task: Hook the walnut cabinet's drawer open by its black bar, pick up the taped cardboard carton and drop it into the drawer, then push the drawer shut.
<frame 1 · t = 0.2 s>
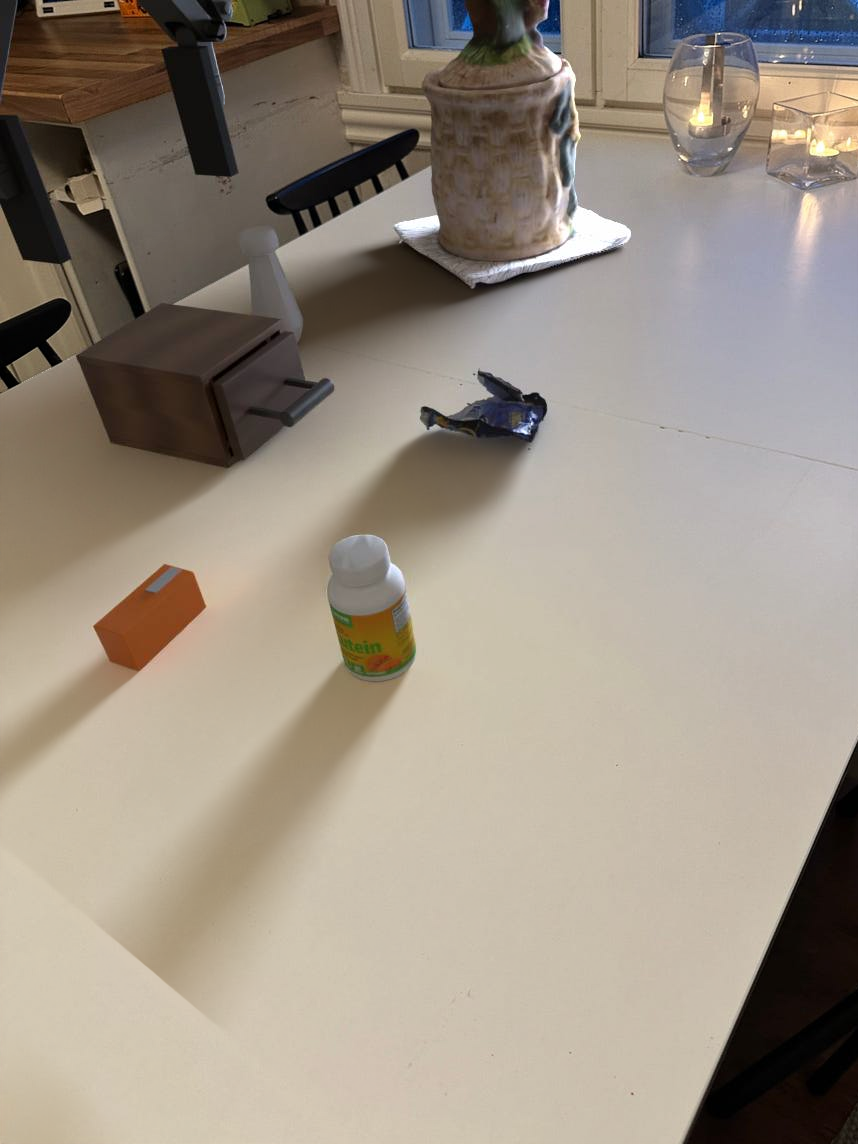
hand: (139, 214, 53), 31 cm above the table, tool pointing down, fingers open, 13 cm apart
cookie jar: (509, 244, 130), on the table
cabinet: (207, 424, 100), on the table
supplement bottle: (381, 660, 70), on the table
salt shaker: (283, 343, 113), on the table
drawer: (232, 388, 94), point 5 cm above the table, slide at 0.5 cm
snack package: (490, 432, 93), on the table
taped cardboard carton: (159, 633, 75), on the table
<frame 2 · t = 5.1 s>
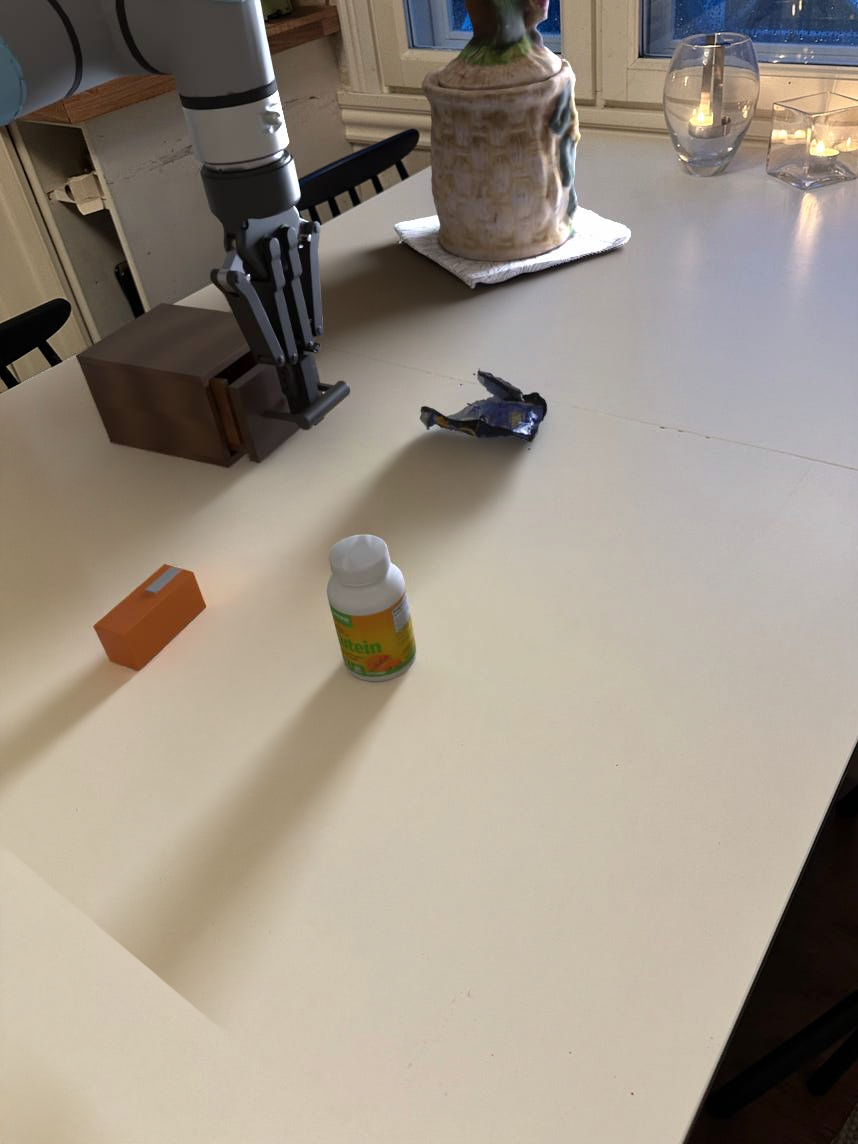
hand: (308, 419, 92), 3 cm above the table, tool pointing down, fingers closed
drawer: (247, 391, 94), point 5 cm above the table, slide at 2.4 cm, touching gripper
everything else where it was.
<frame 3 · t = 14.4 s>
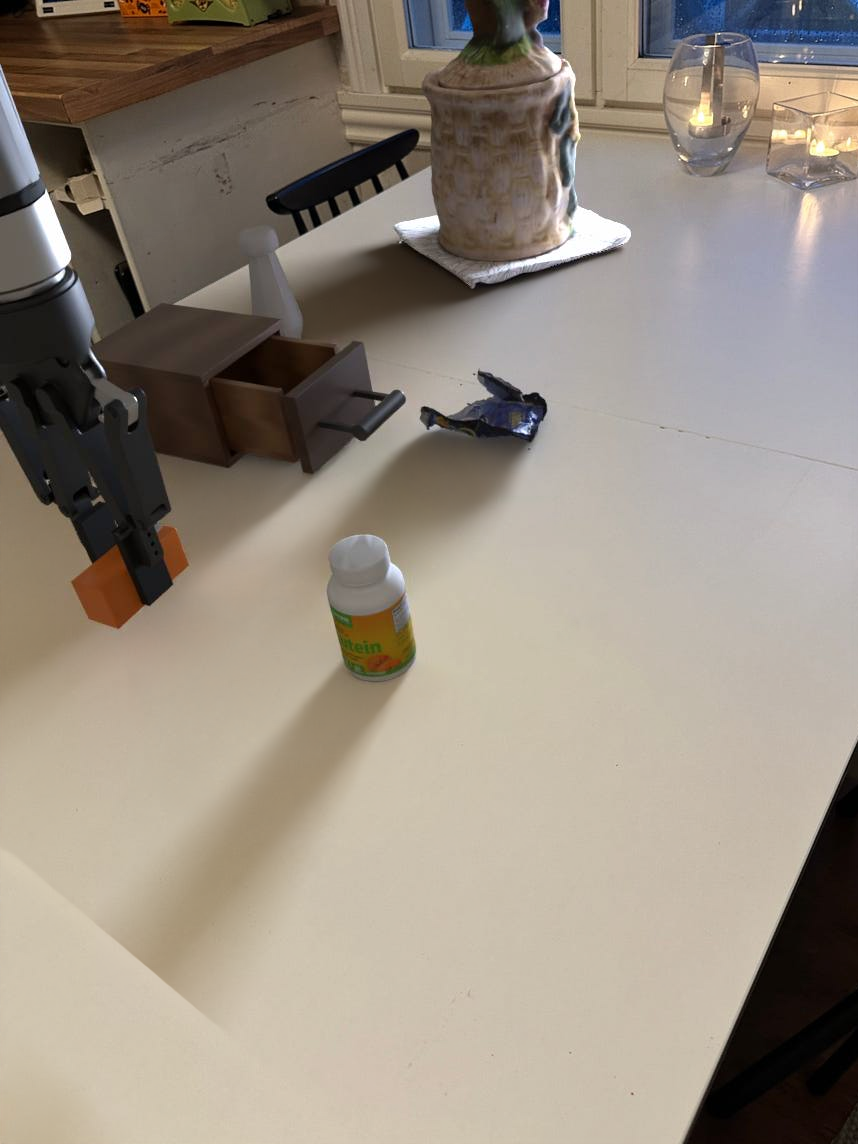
hand: (139, 587, 72), 4 cm above the table, tool pointing down, fingers closed on taped cardboard carton, 3 cm apart
drawer: (298, 400, 91), point 5 cm above the table, slide at 8.6 cm
taped cardboard carton: (140, 591, 72), point 4 cm above the table, touching gripper
everything else where it was.
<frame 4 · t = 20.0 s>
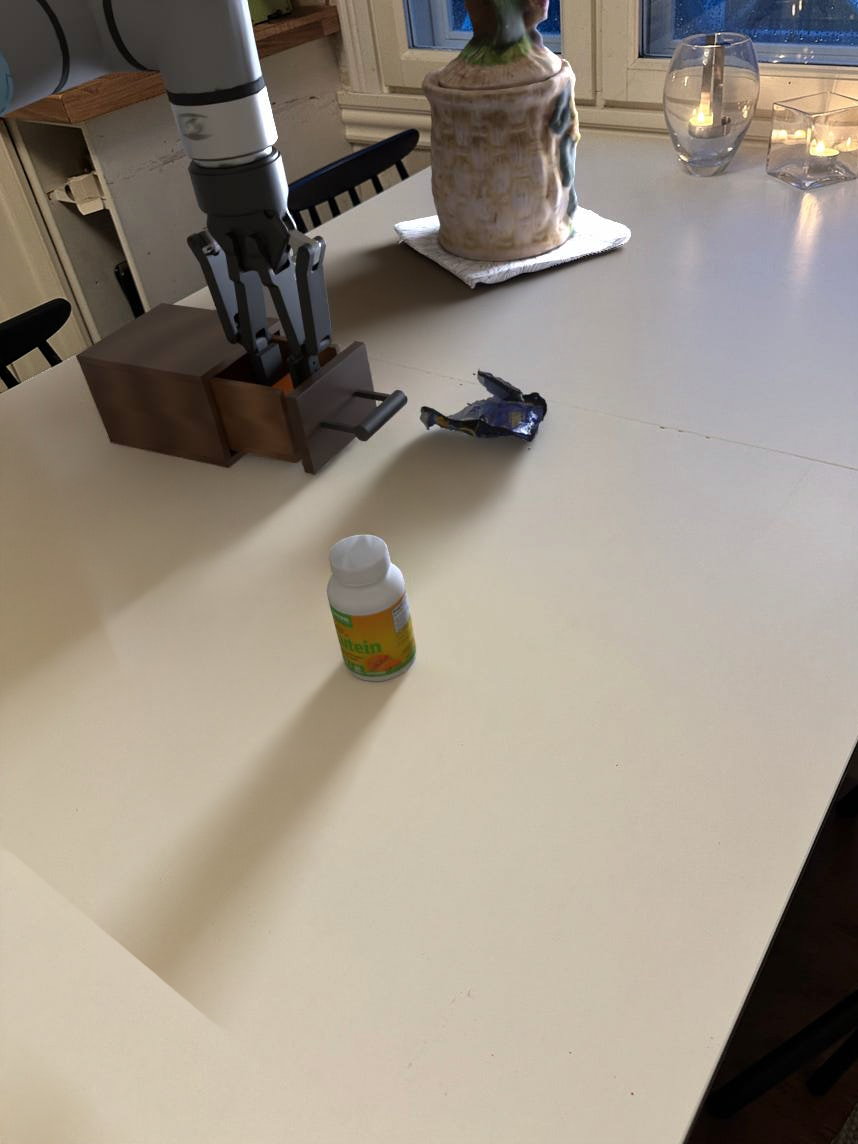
hand: (297, 414, 93), 3 cm above the table, tool pointing down, fingers closed on taped cardboard carton, 3 cm apart
taped cardboard carton: (298, 418, 93), point 3 cm above the table, touching gripper
everything else where it was.
when the fingers open (2 cm above the table, at t = 21.3 s): taped cardboard carton stays where it is, resting on drawer.
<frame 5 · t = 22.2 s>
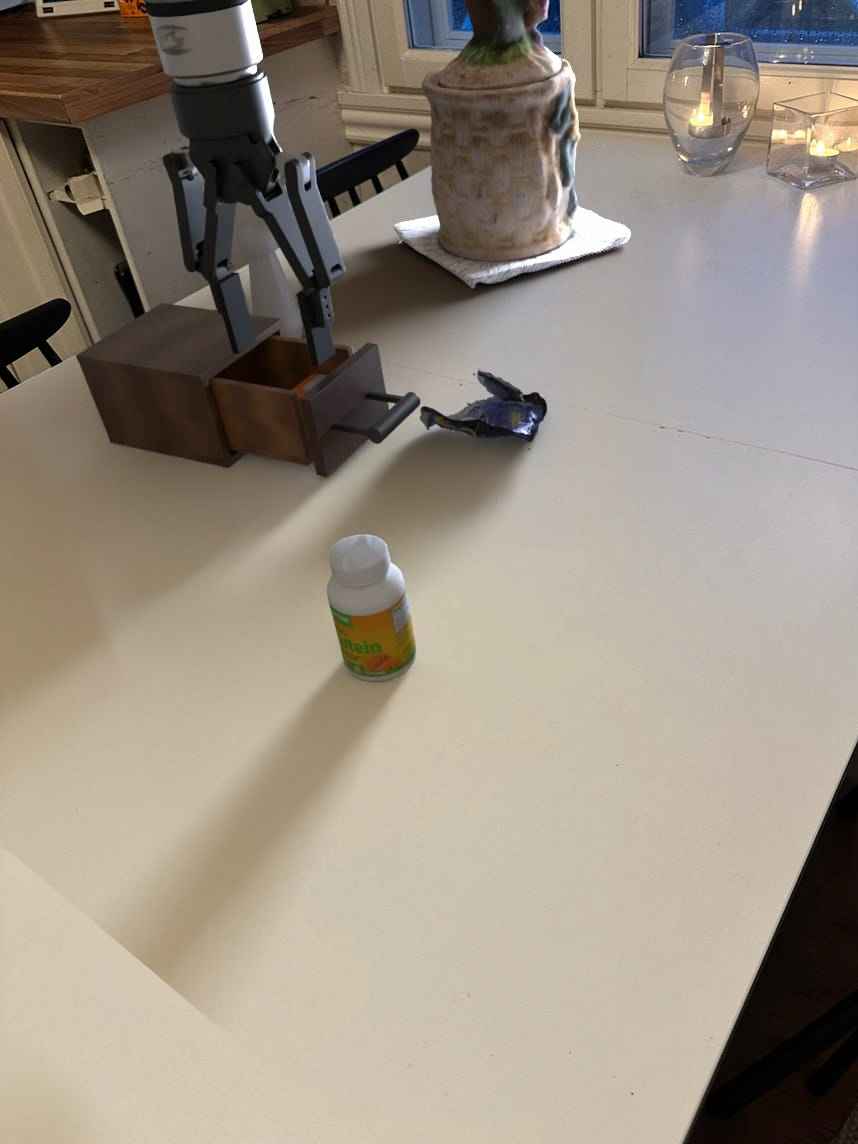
hand: (283, 352, 88), 10 cm above the table, tool pointing down, fingers open, 8 cm apart
drawer: (312, 403, 91), point 5 cm above the table, slide at 10.2 cm, touching taped cardboard carton
taped cardboard carton: (310, 427, 93), point 2 cm above the table, touching drawer
everything else where it was.
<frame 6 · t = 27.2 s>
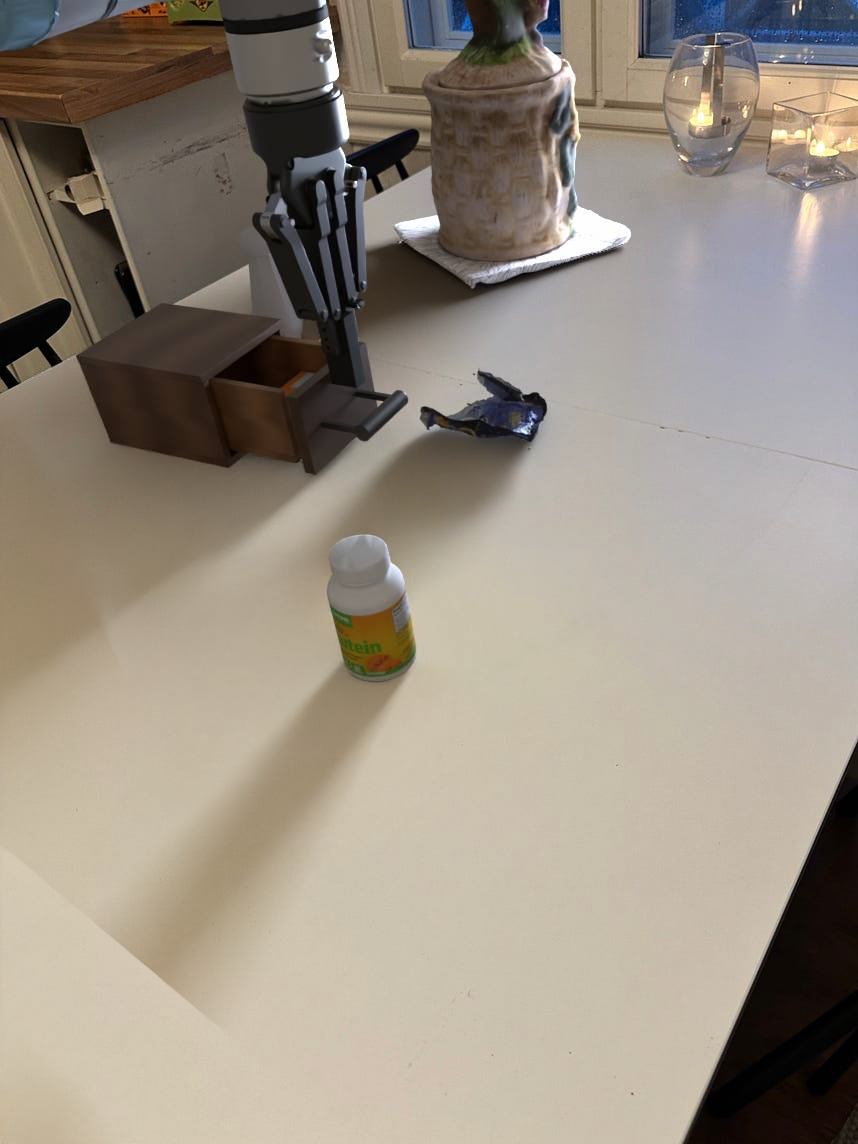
hand: (348, 382, 87), 8 cm above the table, tool pointing down, fingers closed
drawer: (301, 401, 91), point 5 cm above the table, slide at 8.8 cm, touching taped cardboard carton, gripper
taped cardboard carton: (298, 425, 93), point 2 cm above the table, touching drawer
everything else where it was.
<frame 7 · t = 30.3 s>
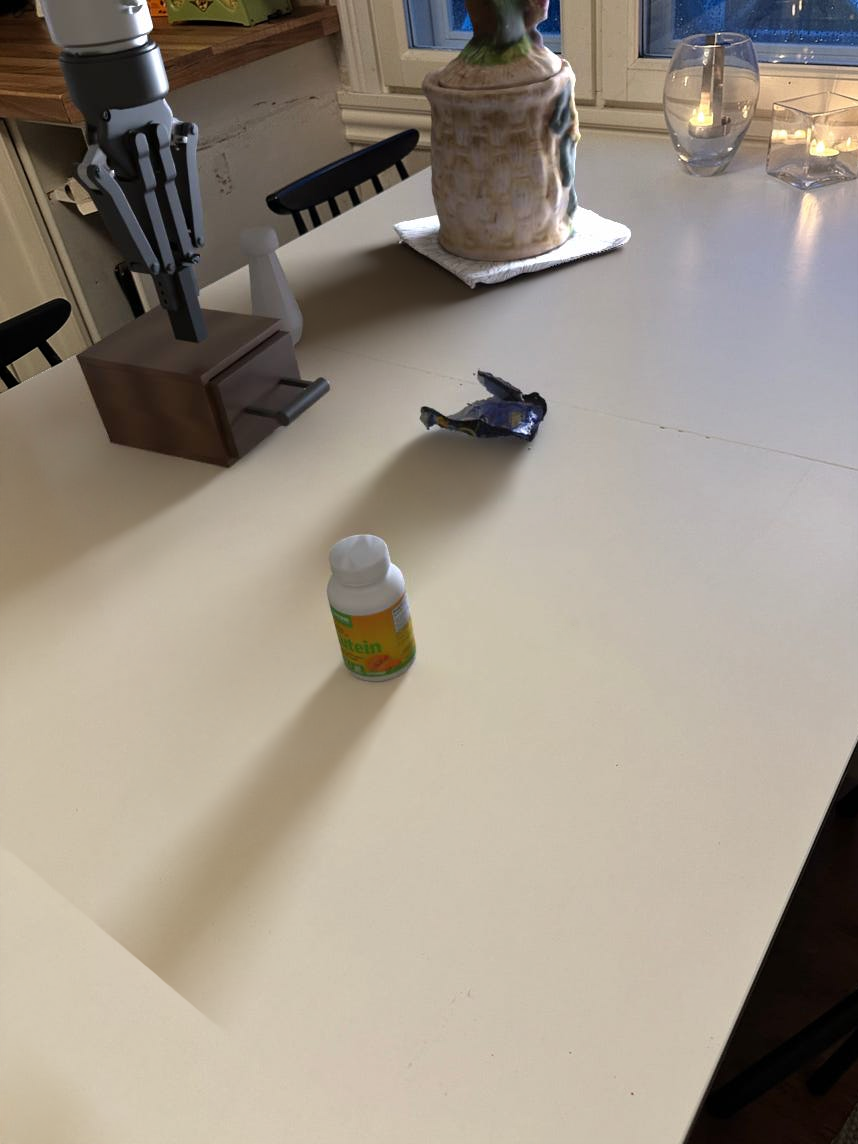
hand: (192, 337, 88), 11 cm above the table, tool pointing down, fingers closed
drawer: (228, 388, 95), point 5 cm above the table, slide at 0.0 cm, touching taped cardboard carton, cabinet
taped cardboard carton: (227, 412, 97), point 2 cm above the table, touching drawer
everything else where it was.
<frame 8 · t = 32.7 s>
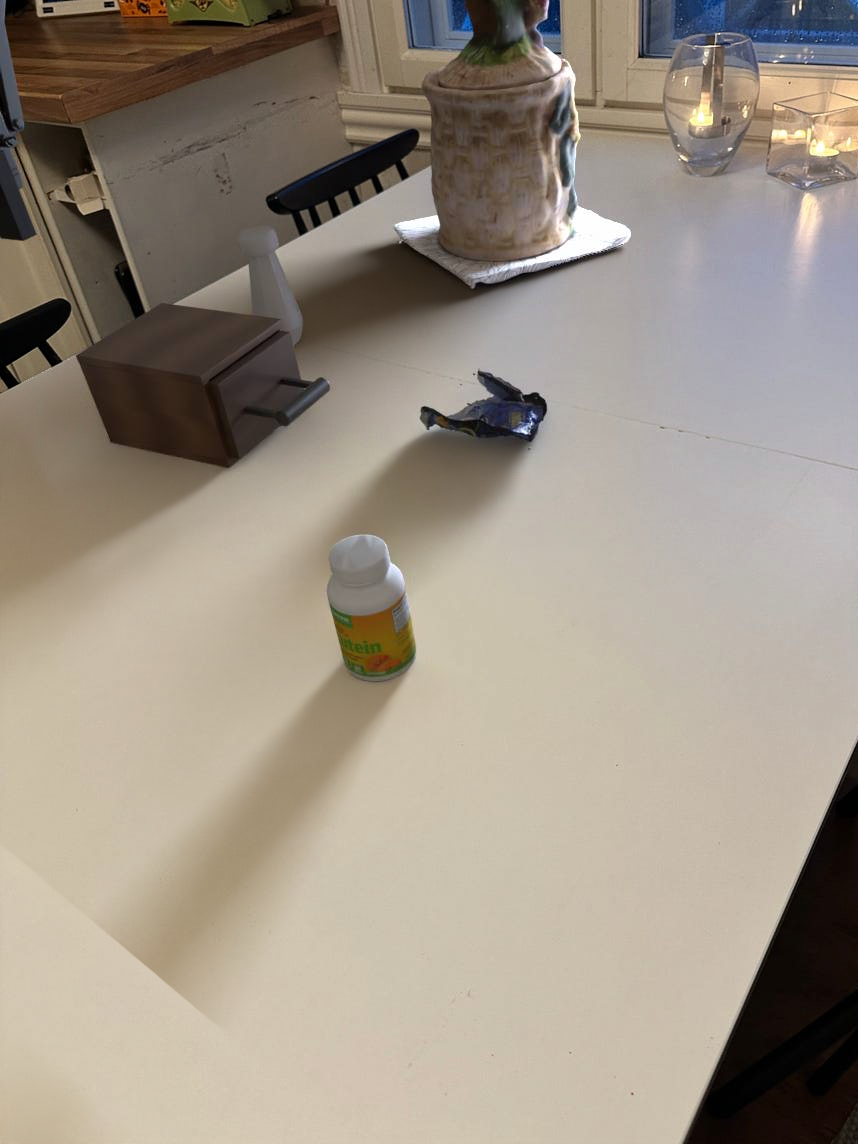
hand: (18, 236, 80), 22 cm above the table, tool pointing down, fingers closed
nothing on the table moved.
at the end: taped cardboard carton inside the target area in the cabinet (3.4 cm from its centre), point 2.0 cm above the cabinet's base; drawer slide at 0.0 cm; the gripper is holding nothing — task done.
